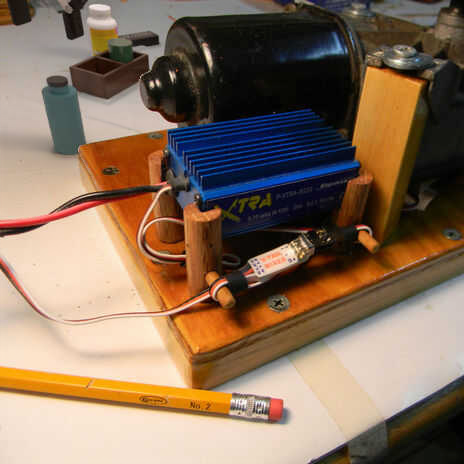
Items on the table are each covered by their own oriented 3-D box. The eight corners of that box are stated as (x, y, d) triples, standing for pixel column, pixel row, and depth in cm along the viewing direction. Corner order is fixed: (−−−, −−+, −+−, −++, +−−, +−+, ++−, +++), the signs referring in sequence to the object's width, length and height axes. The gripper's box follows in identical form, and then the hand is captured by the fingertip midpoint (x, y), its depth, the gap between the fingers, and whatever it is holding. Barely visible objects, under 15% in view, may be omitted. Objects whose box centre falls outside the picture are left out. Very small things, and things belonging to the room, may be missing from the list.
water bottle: (47, 149, 85) (30, 80, 77) (68, 137, 90) (54, 70, 81) (73, 157, 85) (59, 88, 76) (93, 144, 89) (81, 77, 81)
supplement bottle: (124, 65, 118) (118, 11, 110) (96, 68, 114) (88, 12, 106) (116, 55, 122) (109, 2, 114) (89, 57, 118) (80, 3, 110)
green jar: (107, 77, 110) (102, 42, 105) (120, 70, 114) (116, 36, 109) (126, 82, 109) (122, 47, 104) (139, 75, 113) (136, 41, 108)
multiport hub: (159, 43, 132) (159, 35, 131) (124, 50, 125) (124, 41, 124) (150, 38, 134) (149, 30, 133) (115, 45, 127) (114, 36, 126)
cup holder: (73, 91, 104) (68, 66, 100) (119, 68, 116) (116, 45, 112) (107, 102, 102) (104, 77, 99) (150, 77, 115) (148, 54, 111)
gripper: (-58, -112, 62) (-17, 24, 73) (56, -88, 59) (80, 50, 70) (-11, -114, 67) (20, 13, 78) (95, -92, 65) (112, 36, 75)
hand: (49, 30), depth 74 cm, fingers open, 9 cm apart
